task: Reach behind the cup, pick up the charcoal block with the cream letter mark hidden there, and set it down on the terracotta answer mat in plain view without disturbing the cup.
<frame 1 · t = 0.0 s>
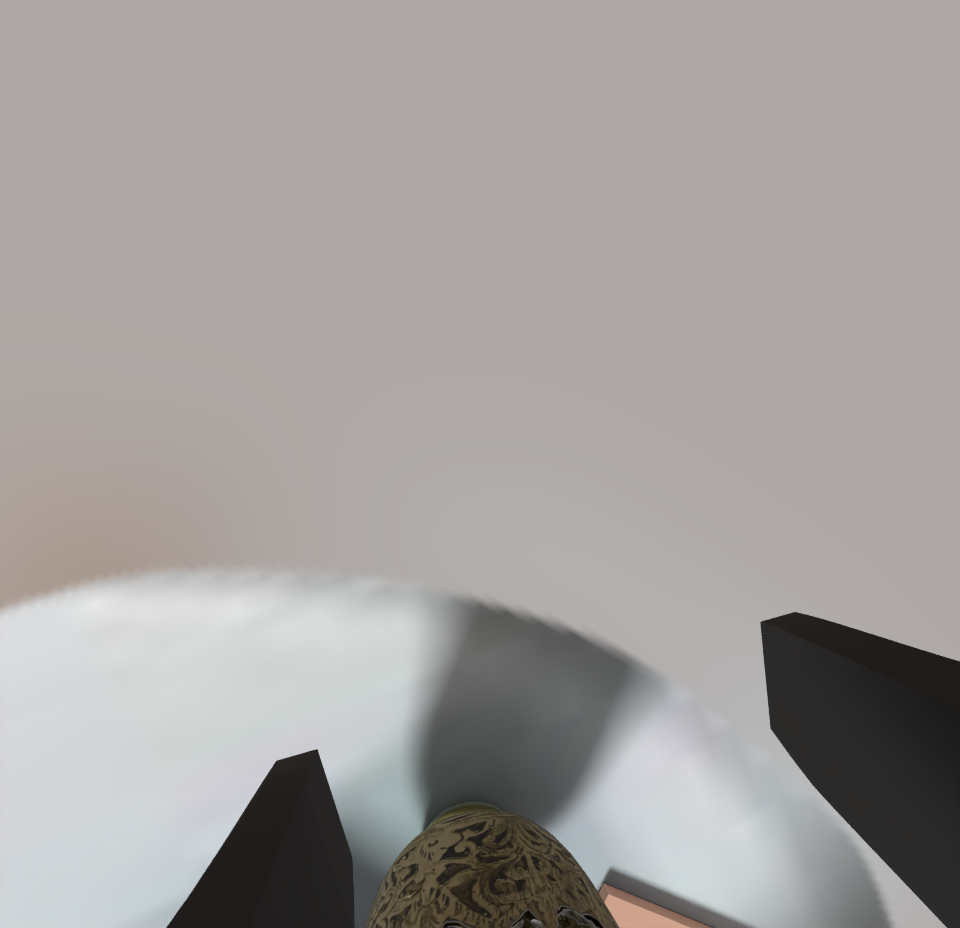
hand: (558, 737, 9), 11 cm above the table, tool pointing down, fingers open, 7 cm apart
cup: (468, 840, 21), on the table
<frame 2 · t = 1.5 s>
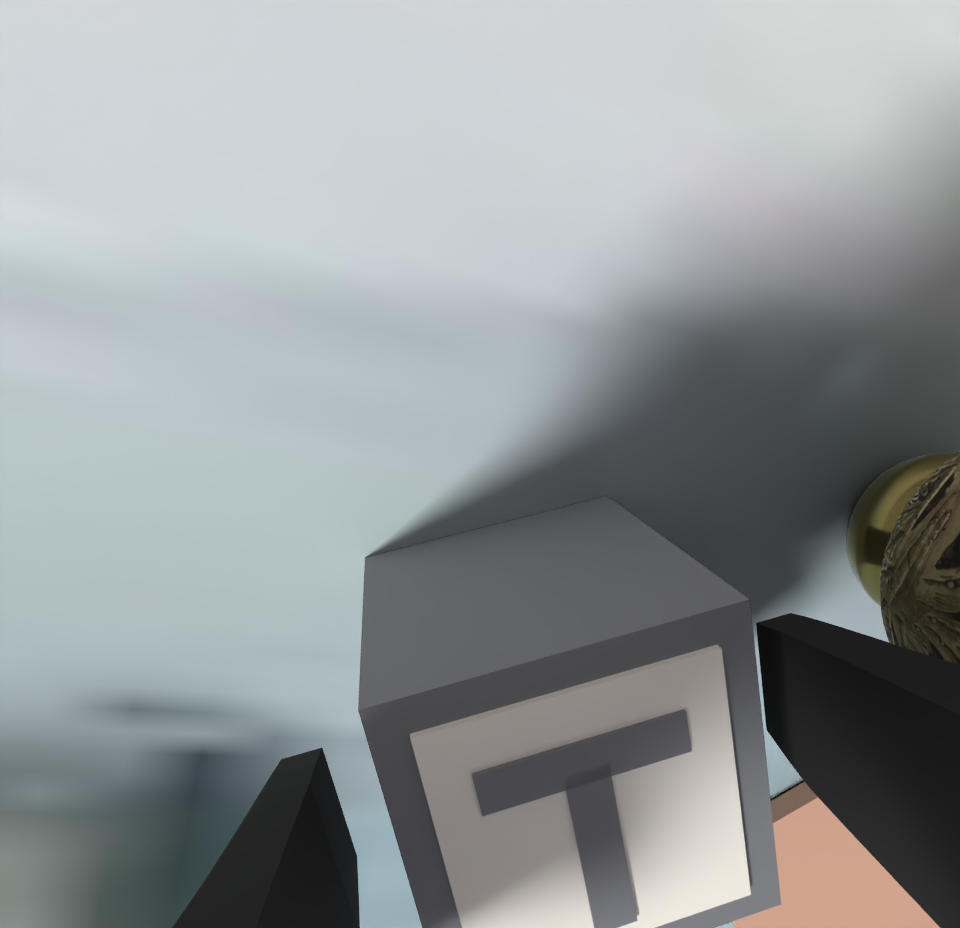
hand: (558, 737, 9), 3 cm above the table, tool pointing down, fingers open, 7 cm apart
cup: (896, 522, 14), on the table, touching gripper
answer mat: (880, 874, 16), on the table
letter block: (511, 634, 13), on the table
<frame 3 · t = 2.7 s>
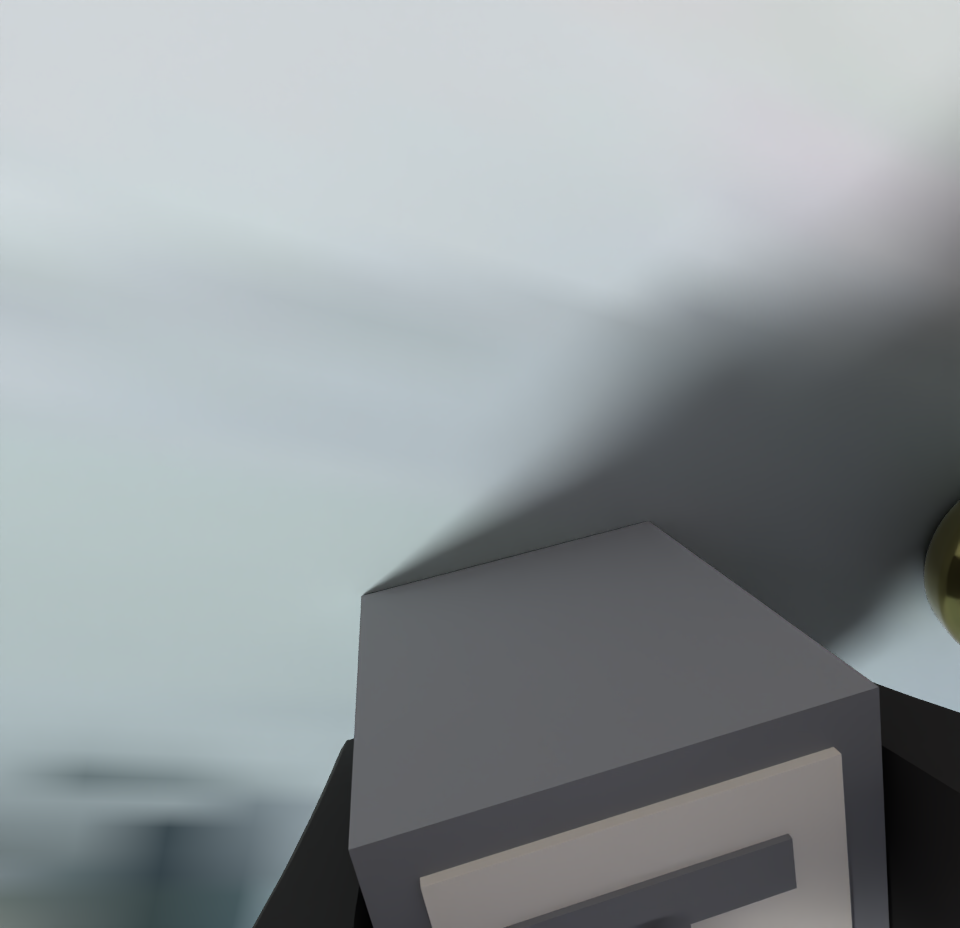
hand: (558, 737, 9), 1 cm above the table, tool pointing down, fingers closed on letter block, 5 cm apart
letter block: (535, 685, 11), on the table, touching gripper
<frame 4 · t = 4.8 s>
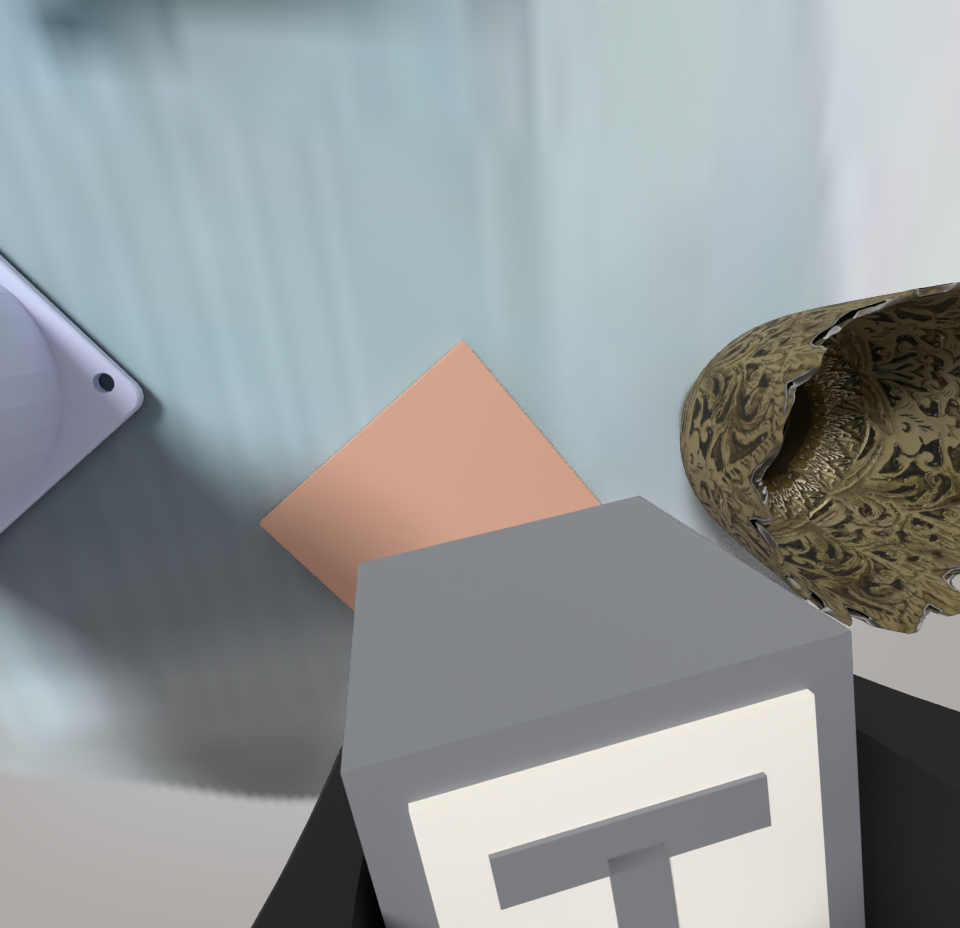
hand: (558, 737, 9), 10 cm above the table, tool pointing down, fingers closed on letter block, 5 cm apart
cup: (717, 413, 20), on the table
answer mat: (449, 522, 19), on the table
letter block: (527, 656, 11), point 9 cm above the table, touching gripper
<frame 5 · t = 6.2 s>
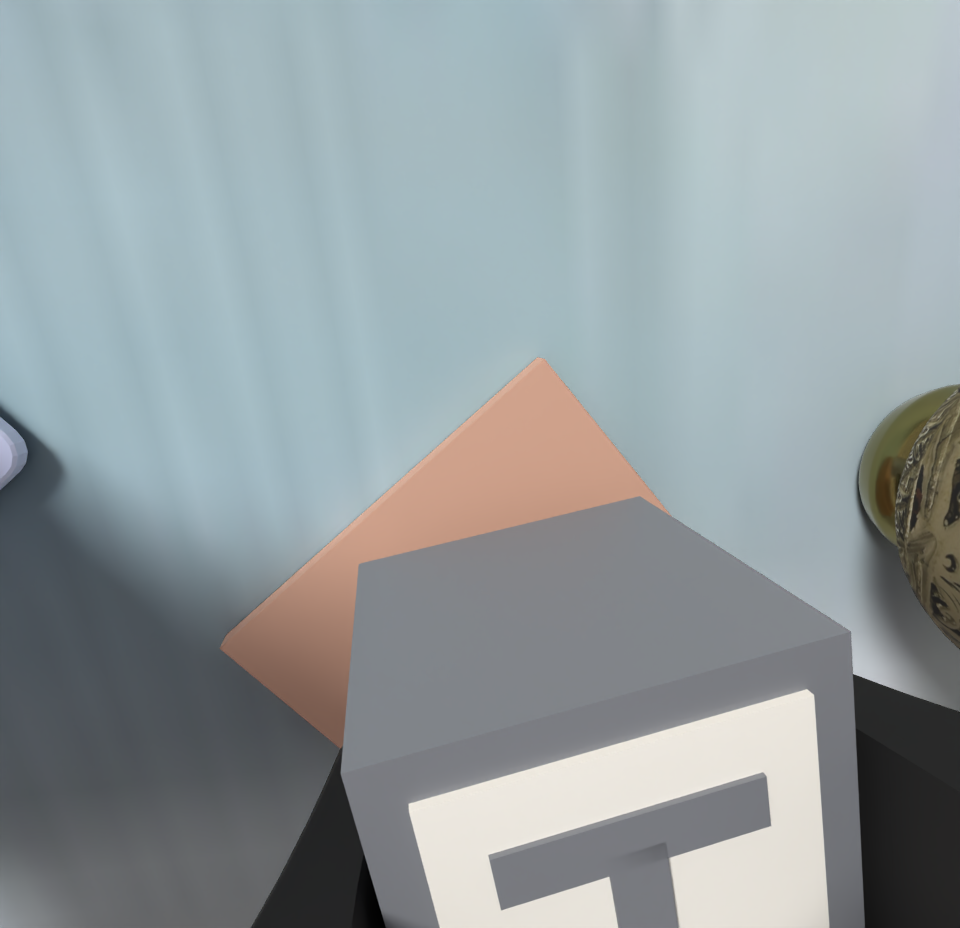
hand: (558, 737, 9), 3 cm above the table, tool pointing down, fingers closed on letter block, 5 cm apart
cup: (908, 463, 14), on the table
answer mat: (512, 631, 13), on the table
letter block: (527, 656, 11), point 2 cm above the table, touching gripper
when the fingers open (3 cm above the table, at t = 7.0 s): letter block drops 1 cm, resting on answer mat.
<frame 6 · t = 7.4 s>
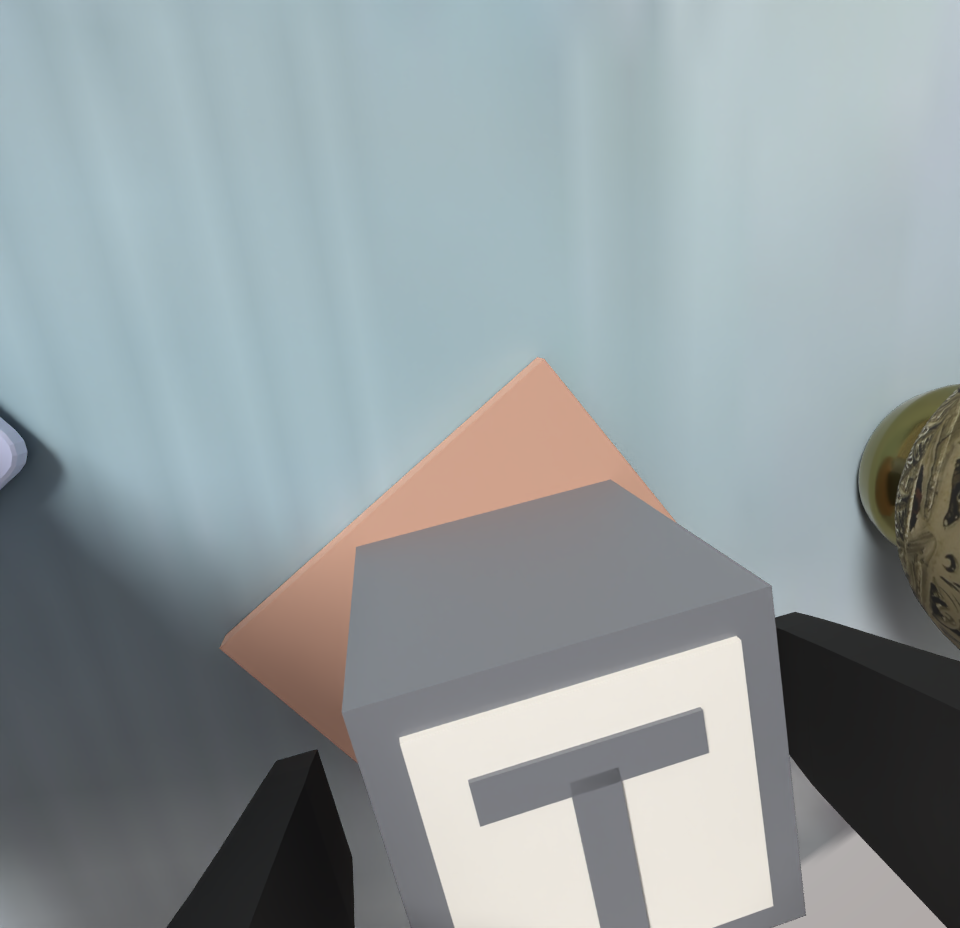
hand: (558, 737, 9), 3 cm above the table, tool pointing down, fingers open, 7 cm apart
cup: (908, 462, 14), on the table
answer mat: (511, 631, 13), on the table
letter block: (512, 628, 12), resting on answer mat
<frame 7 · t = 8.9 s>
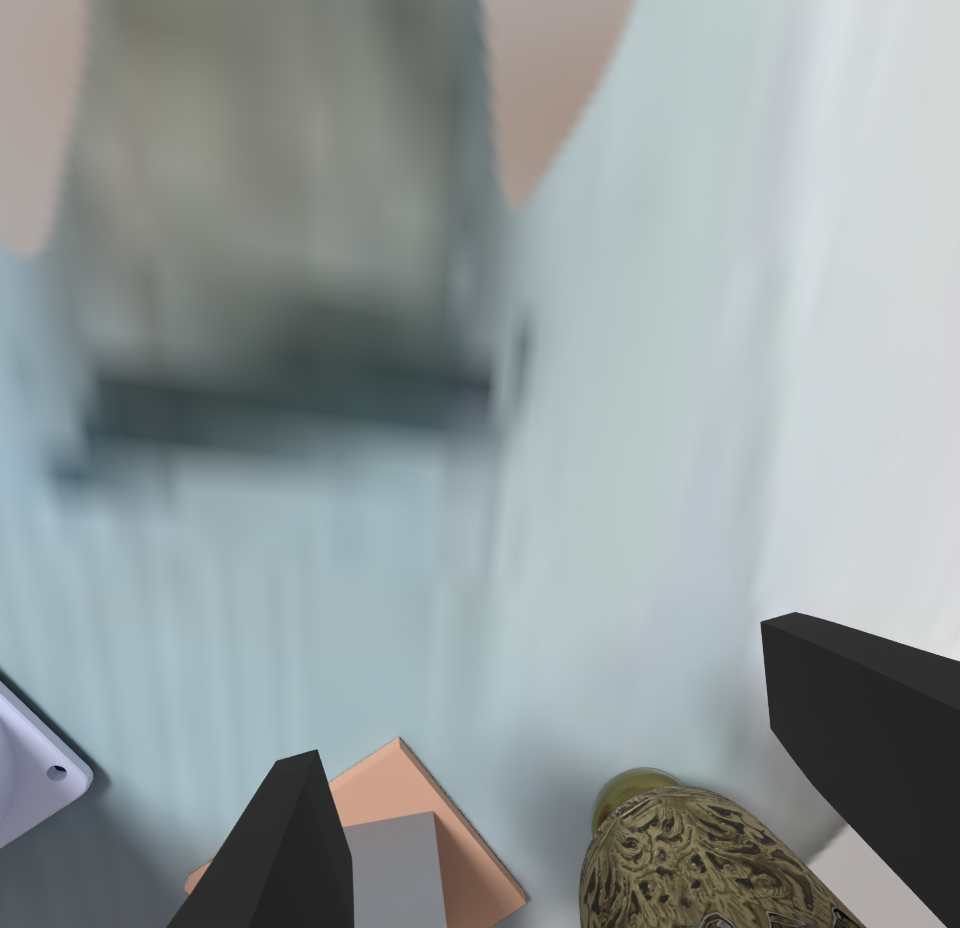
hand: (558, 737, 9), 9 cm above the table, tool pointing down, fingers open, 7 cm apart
cup: (630, 799, 22), on the table
answer mat: (365, 883, 21), on the table
letter block: (363, 888, 20), resting on answer mat
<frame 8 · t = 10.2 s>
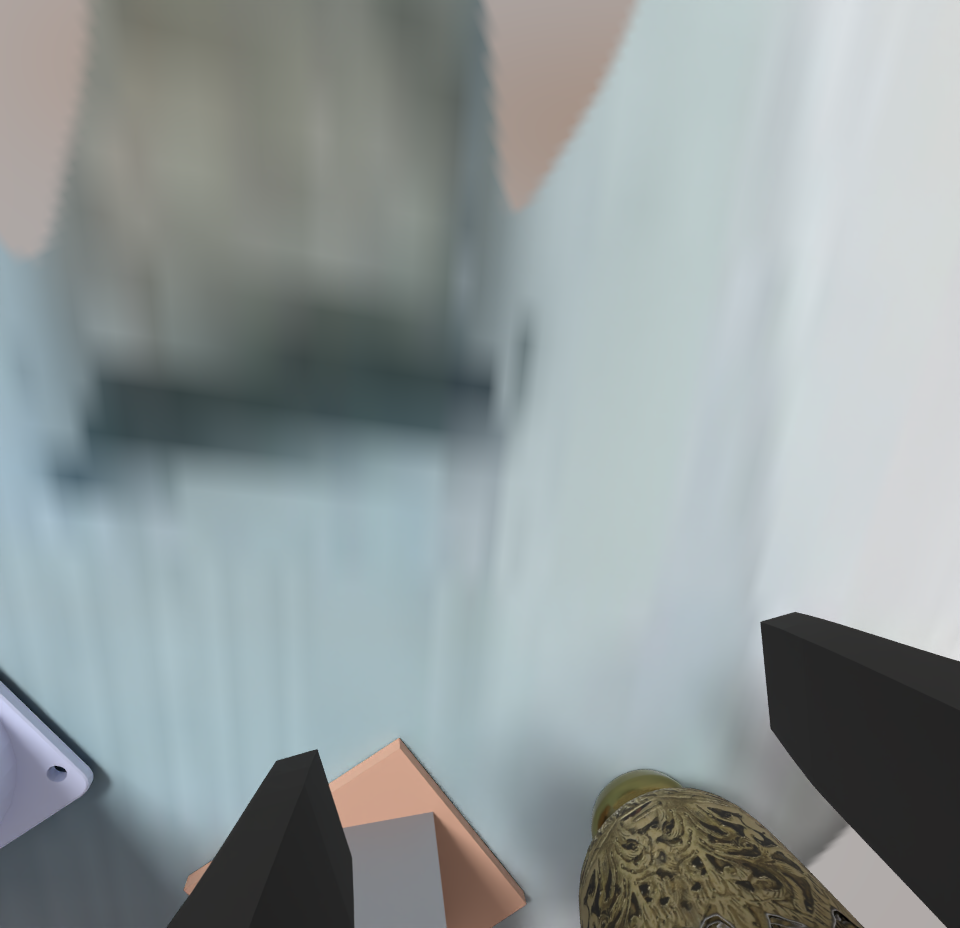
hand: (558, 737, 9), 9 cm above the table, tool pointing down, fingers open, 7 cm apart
cup: (630, 800, 22), on the table
answer mat: (365, 884, 21), on the table
letter block: (363, 888, 20), resting on answer mat
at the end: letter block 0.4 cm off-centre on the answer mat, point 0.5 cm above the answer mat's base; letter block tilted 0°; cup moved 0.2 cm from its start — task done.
